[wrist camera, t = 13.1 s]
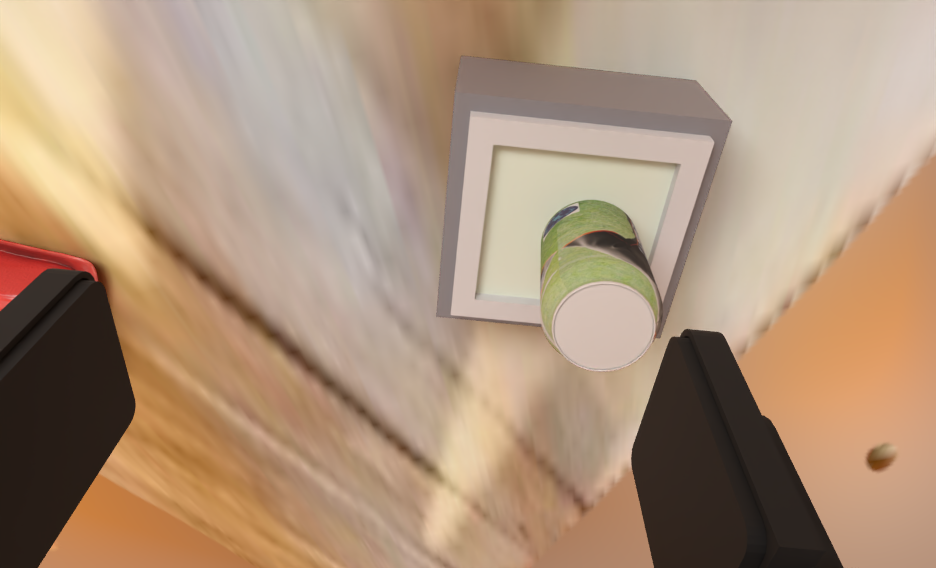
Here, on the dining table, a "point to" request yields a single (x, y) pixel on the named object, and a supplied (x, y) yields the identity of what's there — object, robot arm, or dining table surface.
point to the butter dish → (31, 267)
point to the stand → (567, 174)
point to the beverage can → (597, 287)
